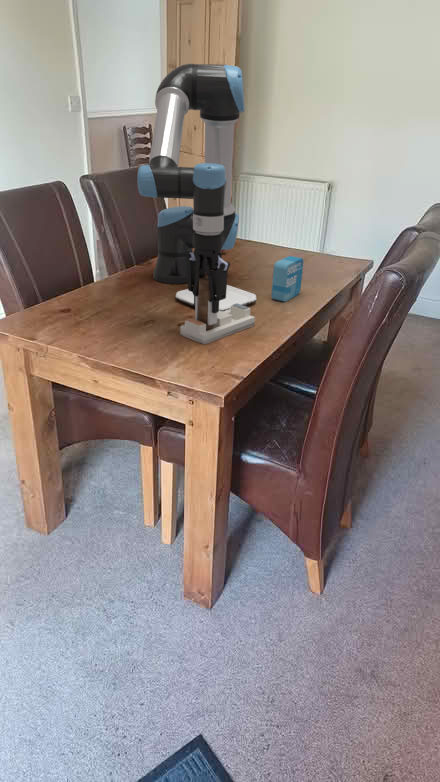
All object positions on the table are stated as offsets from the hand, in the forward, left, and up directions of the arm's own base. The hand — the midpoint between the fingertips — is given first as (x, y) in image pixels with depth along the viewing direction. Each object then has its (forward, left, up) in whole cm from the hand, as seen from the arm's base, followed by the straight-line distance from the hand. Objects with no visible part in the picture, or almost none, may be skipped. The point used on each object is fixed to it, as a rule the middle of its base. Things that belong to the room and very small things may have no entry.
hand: (205, 321), depth 150 cm
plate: (-17, +22, -4) cm, 28 cm away
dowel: (0, 0, -2) cm, 2 cm away
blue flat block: (-5, +42, -4) cm, 42 cm away
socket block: (0, +5, -4) cm, 6 cm away
